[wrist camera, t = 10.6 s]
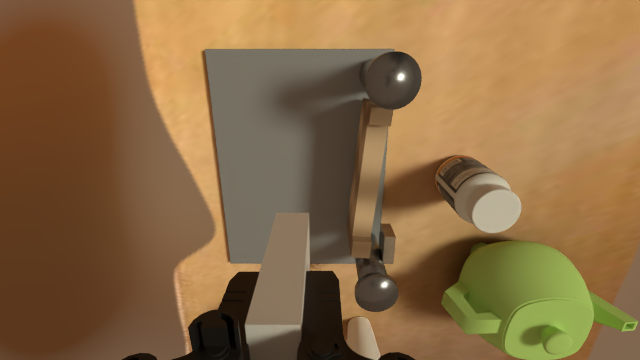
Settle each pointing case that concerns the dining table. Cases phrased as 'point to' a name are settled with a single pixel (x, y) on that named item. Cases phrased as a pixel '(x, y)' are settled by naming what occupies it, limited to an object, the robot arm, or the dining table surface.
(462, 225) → the dining table surface
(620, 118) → the dining table surface
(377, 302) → the post
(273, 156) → the base board
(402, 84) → the hinge post
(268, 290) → the robot arm
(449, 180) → the pill bottle
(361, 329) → the cup
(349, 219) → the wooden block
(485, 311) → the teapot
